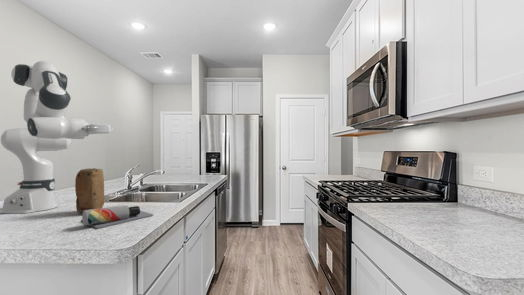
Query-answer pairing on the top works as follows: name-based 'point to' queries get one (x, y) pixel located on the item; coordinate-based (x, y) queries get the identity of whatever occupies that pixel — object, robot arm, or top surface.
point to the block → (89, 189)
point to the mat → (130, 218)
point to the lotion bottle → (108, 214)
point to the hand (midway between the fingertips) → (112, 130)
